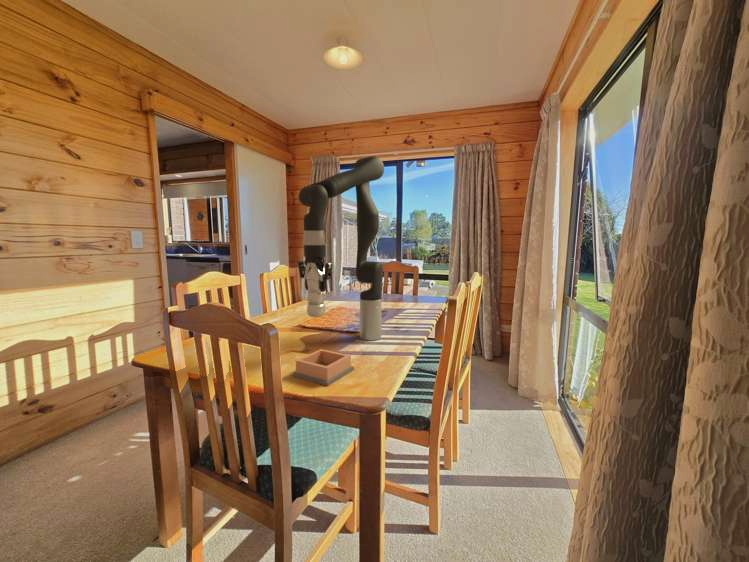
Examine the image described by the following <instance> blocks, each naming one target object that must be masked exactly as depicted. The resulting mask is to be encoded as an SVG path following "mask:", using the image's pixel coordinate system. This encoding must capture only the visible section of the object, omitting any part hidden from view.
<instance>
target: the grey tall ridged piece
mask: <svg viewBox="0 0 749 562" xmlns="http://www.w3.org/2000/svg"><path fill="white" fill-rule="evenodd" d="M313 263H316V262H310V267H311V269H310V270H309V272H308V273H307V276H306V278H307V285H308V290H307V291H308V292H307V293H308V297H307V298H308V299H307V306H306V313H307V316H309V317H310V318H319V317H322V316H324V315H325V313H326V307H325V306H326V305H325V301H324V300H325V299H324V292H321V291H320V277H319V276H318V275H317V273H316V271H315V268H314V267H313ZM320 272H322V271H320ZM322 276H323V275H322Z"/></svg>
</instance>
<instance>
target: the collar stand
mask: <svg viewBox="0 0 749 562" xmlns="http://www.w3.org/2000/svg"><path fill="white" fill-rule="evenodd" d="M351 361H352V360H351V355H349V354H346V353H341V352H336V351H331V350H327V349H322V348H320V349H318V350H316V351H313V352H311V353H309V354H307V355H305V356H303V357H301V358H299V359H296V360H295V371H294V372H292V377H294V378H295V377H296V378H299V379H301V380H305V381H309V382H312V383H316V384H319V385H323V386H326V387H329V386H330V385H332V384H334V383H335V382H337V381H338V380H340V379H342V378H343V377H345V376H346V375H348V374H350V373H352V372H353V371H355V366H352V365H351V364H352V363H351Z"/></svg>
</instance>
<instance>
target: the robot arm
mask: <svg viewBox="0 0 749 562" xmlns="http://www.w3.org/2000/svg"><path fill="white" fill-rule="evenodd" d="M384 173H385V165H384V162H383V160H382V159H381V158H380V157H378V156H367V157H362V158H358V159H357V160H356V161H355V163H354V168H352V169H349V170H345V171H343V172H339V173H336V174H333V175H331V176H328V177H327V178H324V179H323V180H321V181H318V182H314V183H311V184H308V185H305V186H304V187H302V188H301V189H300V191H299V193H298V200H299V203H300V204H302V205H303V206H304V207H309V211H308V212H307V213H306V214H305V215H304V216H303V238H302V239H303V257H304V260H300V261H298V263H297V264H298V273H299V277H300V278H301V279H303V280H304V288H305V290H306V291H308V285H307V278H306V276H307V273H308V272H309V270H310V269H311V267H310V262H316V263H313V267H314V268H315V271H316V273H317V275H318V276H319V277H320V291H321V292H323V293H324V292H326V290H327V281H328V280H331V279H332V273H333V272H332V271H333V262H330V261H329V262H327V261H326V259H325V257H326V234H325V216H326V211H327V207H328V201H329V199H333V198H335V197H338V196H339V195H341V194H343V193H345V192H347V191H349V190H351V189H353V188H355V193H356V235H357V237H356V238H357V239H356V240H357V243H356V244H357V245H356V246H357V247H356V248H357V250H356V261H355V262H356V265H355V274H356V275H355V277H356V280H357V281H358V283H364V284H371V287H370V288H369V289H365V290H363V291H361V292H360V293H359V338H360V339H361V340H363V341H378V340H380V339H381V338H382V332H383V331H382V325H383V324H382V323H383V322H382V321H383V316H382V293H383V280H384V279H383V277H384V276H383V275H384V267H383V264H382V263H381V262H380V261H370V260H368V259H367V257H368V252H369V249H370V247H371V245H372V244H373V242H374V240H375V239H376V237H377V235H378V233H379V231H380V214H379V211H378V209H377V206H376V204H375V202H374V201H373V198H372V196H371V192H370V191H371V189H370V182H373V181H377V180H379V179H380V178H382V177H383V175H384ZM320 271H322V272H320ZM322 275H323V276H322Z"/></svg>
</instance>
